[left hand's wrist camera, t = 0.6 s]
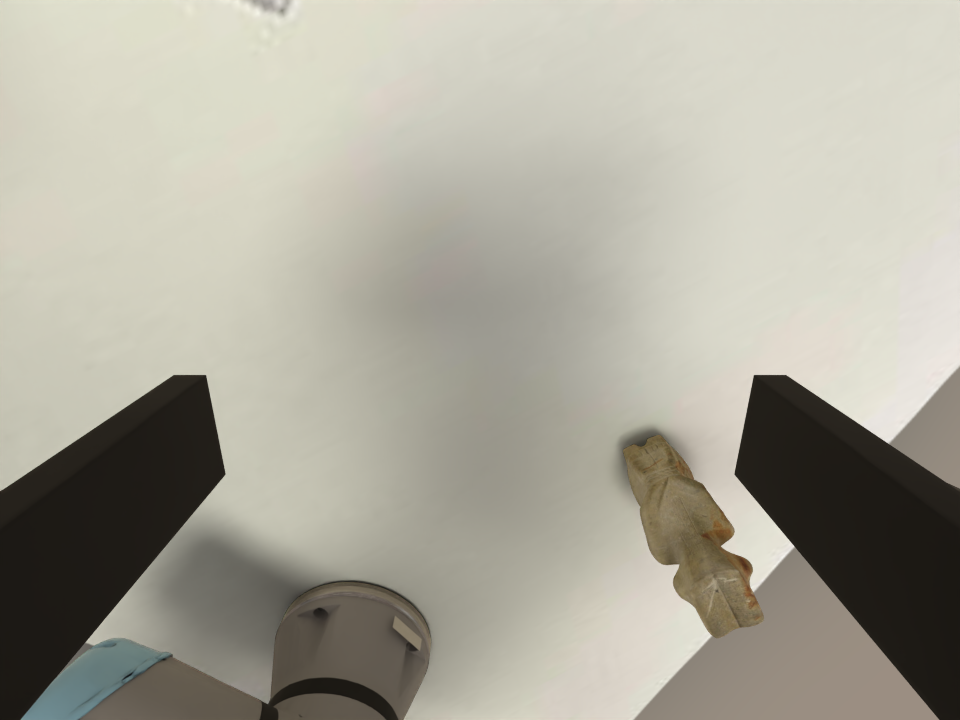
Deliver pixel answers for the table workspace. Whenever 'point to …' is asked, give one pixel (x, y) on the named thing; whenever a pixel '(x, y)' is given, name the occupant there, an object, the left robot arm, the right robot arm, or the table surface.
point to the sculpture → (691, 537)
